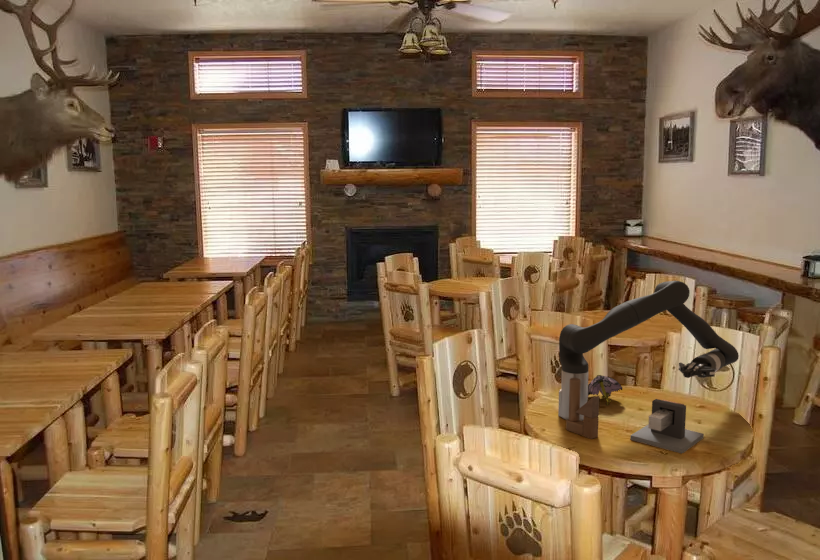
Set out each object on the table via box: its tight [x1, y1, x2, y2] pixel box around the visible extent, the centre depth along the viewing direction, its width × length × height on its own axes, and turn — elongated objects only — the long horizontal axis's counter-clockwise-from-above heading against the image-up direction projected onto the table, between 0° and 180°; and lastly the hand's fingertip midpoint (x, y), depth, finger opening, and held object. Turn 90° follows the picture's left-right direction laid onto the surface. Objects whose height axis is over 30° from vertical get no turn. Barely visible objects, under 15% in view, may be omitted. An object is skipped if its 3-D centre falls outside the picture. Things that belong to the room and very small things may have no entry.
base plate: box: [629, 424, 705, 454], centre depth 222 cm, size 17×17×2 cm
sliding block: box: [647, 399, 685, 431], centre depth 219 cm, size 7×14×7 cm, turn 136°
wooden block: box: [565, 378, 600, 440], centre depth 226 cm, size 4×11×18 cm, turn 37°
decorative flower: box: [588, 374, 623, 406], centre depth 259 cm, size 14×12×15 cm
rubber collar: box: [651, 398, 687, 439], centre depth 221 cm, size 10×3×10 cm, turn 46°
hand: (686, 374), depth 229 cm, fingers closed
